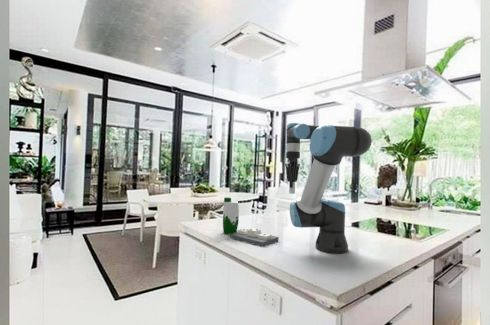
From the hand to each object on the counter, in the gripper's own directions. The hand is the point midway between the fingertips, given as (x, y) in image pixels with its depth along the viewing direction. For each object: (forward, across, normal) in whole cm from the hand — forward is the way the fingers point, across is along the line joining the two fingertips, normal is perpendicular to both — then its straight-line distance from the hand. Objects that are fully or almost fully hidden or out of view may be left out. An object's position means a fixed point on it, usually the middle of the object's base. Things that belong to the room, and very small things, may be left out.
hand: (292, 193), depth 152 cm
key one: (+24, +18, -5) cm, 31 cm away
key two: (+23, +18, -12) cm, 32 cm away
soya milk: (+25, +16, -31) cm, 43 cm away
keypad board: (+24, +18, -12) cm, 33 cm away
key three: (+24, +18, -19) cm, 36 cm away
